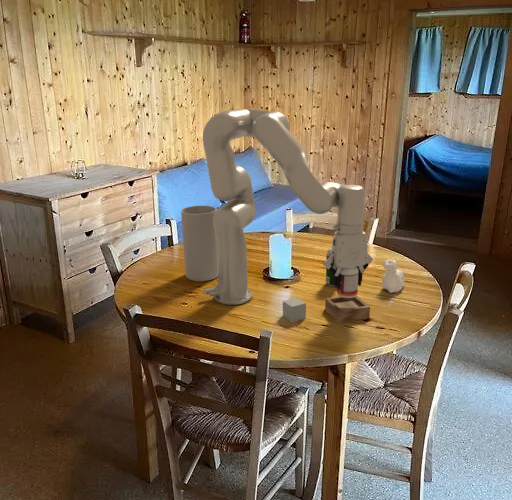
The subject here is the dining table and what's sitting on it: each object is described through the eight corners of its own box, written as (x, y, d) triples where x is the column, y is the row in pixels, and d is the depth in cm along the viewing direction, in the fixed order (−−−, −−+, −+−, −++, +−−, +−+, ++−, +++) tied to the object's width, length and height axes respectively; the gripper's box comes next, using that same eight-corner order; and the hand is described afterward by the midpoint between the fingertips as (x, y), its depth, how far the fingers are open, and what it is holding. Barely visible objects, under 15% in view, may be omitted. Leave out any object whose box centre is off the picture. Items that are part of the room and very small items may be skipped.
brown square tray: (338, 322, 154) (339, 311, 153) (325, 309, 163) (325, 298, 162) (369, 318, 157) (369, 306, 155) (354, 304, 166) (354, 294, 165)
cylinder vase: (216, 268, 200) (213, 204, 192) (222, 280, 188) (219, 212, 180) (183, 271, 197) (179, 207, 189) (187, 283, 185) (183, 215, 177)
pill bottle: (334, 291, 161) (335, 256, 157) (354, 290, 161) (355, 255, 157) (339, 299, 155) (340, 263, 151) (359, 298, 155) (361, 262, 152)
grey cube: (292, 322, 155) (292, 306, 154) (282, 316, 159) (282, 301, 158) (305, 318, 158) (305, 303, 156) (296, 312, 162) (296, 297, 160)
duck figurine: (398, 289, 183) (382, 261, 184) (416, 280, 178) (398, 251, 179) (383, 300, 174) (365, 270, 175) (400, 291, 169) (382, 261, 170)
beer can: (332, 288, 179) (333, 255, 175) (322, 283, 183) (323, 251, 179) (344, 284, 182) (345, 252, 178) (334, 280, 186) (335, 248, 182)
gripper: (327, 234, 146) (325, 293, 151) (383, 228, 150) (379, 286, 156) (317, 227, 152) (315, 284, 158) (370, 222, 157) (367, 277, 163)
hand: (347, 284), depth 157 cm, fingers closed on pill bottle, 6 cm apart
